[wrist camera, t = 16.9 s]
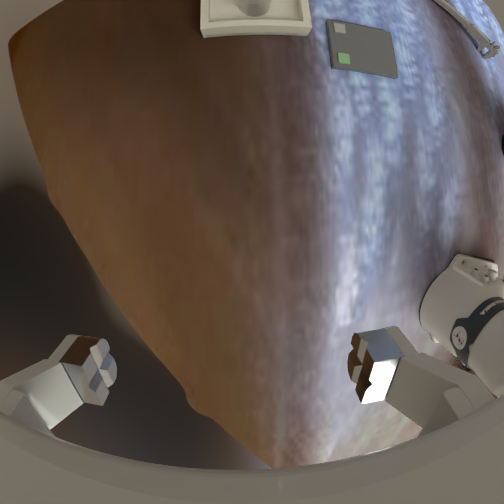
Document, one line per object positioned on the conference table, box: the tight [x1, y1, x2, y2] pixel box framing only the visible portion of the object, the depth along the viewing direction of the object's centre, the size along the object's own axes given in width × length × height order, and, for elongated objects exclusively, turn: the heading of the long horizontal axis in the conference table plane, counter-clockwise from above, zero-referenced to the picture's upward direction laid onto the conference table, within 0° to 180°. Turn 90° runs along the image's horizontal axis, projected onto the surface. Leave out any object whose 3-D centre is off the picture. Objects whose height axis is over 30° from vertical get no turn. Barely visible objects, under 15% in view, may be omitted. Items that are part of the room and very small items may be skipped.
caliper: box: [434, 0, 500, 59], centre depth 21 cm, size 20×1×6 cm, turn 54°
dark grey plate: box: [326, 20, 398, 79], centre depth 28 cm, size 10×8×1 cm
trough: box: [200, 0, 312, 38], centre depth 25 cm, size 14×10×3 cm
